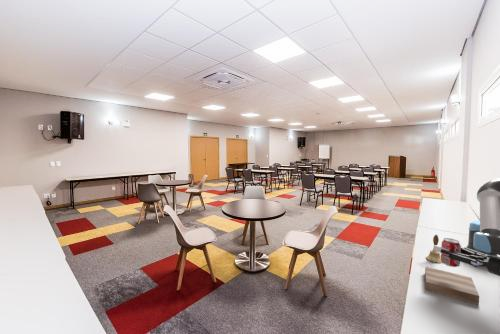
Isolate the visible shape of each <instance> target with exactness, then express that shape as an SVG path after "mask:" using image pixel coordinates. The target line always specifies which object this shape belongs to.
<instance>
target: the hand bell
mask: <svg viewBox="0 0 500 334" xmlns="http://www.w3.org/2000/svg"><path fill="white" fill-rule="evenodd" d="M432 241H433V242H432V243H433V246H434V245H437V246H438V245H439V236H438V234H434V236H433V237H432ZM425 259H426V260H427V259H428V260H427V261H429V260H430V261H429V262H431V261H433V262H432V263H434V262H437V263H436V264H444V263H443V262H441V253H440V252H437V251H434V247H433V249H431V250H430V251H429V253H428V255H427V256H426V257H425Z"/></svg>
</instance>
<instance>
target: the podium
mask: <svg viewBox="0 0 500 334" xmlns="http://www.w3.org/2000/svg"><path fill="white" fill-rule="evenodd" d="M424 276H425V278H424V281H425V290H426V291H429V292H432V291H433V292H432V293H435V294H439V295H443V296H447V297H450V298H453V299H457V300H461V301H464V302H468V303H471V304H475V305H477V306H478V305H480V294H479V292H478V290H477V288H476V285H475V282H474V280H473V278H472V277H470V276H466V275H463V274H458V273H455V272H451V271H445V270H442V269H437V268H433V267H429V266H425V267H424Z"/></svg>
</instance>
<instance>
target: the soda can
mask: <svg viewBox="0 0 500 334" xmlns="http://www.w3.org/2000/svg"><path fill="white" fill-rule="evenodd" d="M440 247H443V248H446V249H451V251H453V252H457V253H461V248H462V245H461V243H460V241H459V240H457V239H454V238H450V237H449V238H448V237H444V238H443V240H442V241H441V246H440ZM440 258H441V262H443V263H442V264H443V265H446V266H447V267H451V268H458V267H460V265H461V262H460V261H457V260H454V259H451V258H449V256H448V255H445V254H443V253H440Z"/></svg>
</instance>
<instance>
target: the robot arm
mask: <svg viewBox="0 0 500 334" xmlns="http://www.w3.org/2000/svg"><path fill="white" fill-rule="evenodd" d="M476 199H477V201H478V202H479V220H475V221H471V222H470V223H469V225H468V242H467V245H466V247H461V253H457V252H453V251H451V249H446V248H443V247H441V246H440V245H438V244H437V245H434V244H433V248H434V251H437V252H439V253H440V254H441V253H443V254H445V255H448V256H449V258H451V259H454V260H457V261H460V263H464V264H467V265H470V266H472V267H475V268H478V266H479V267H483V268H486V269H487V271H488V272H489V273H490V274H493V275H496V276H499V277H500V178H496V179H491V180H489V181H488V182H486V183H484V184H483V185H481V186H480V187H479V188H478V190H477V192H476Z"/></svg>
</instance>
